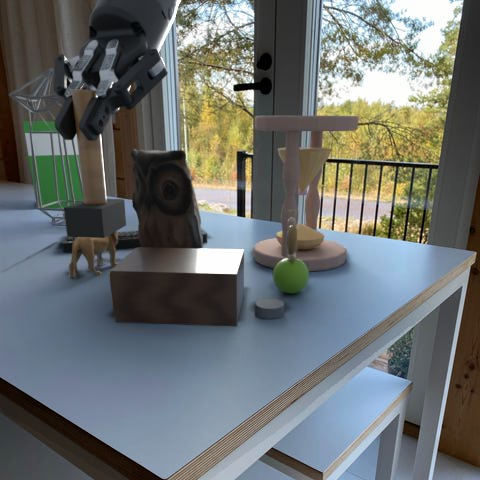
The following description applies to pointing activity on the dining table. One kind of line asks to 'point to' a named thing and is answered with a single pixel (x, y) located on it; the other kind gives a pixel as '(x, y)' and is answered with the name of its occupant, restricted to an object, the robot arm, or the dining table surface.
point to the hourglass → (303, 190)
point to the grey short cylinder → (269, 308)
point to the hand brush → (92, 185)
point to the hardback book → (46, 164)
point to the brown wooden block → (179, 286)
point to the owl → (165, 200)
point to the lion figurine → (92, 252)
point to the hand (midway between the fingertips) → (75, 133)
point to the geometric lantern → (37, 89)
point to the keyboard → (123, 241)
